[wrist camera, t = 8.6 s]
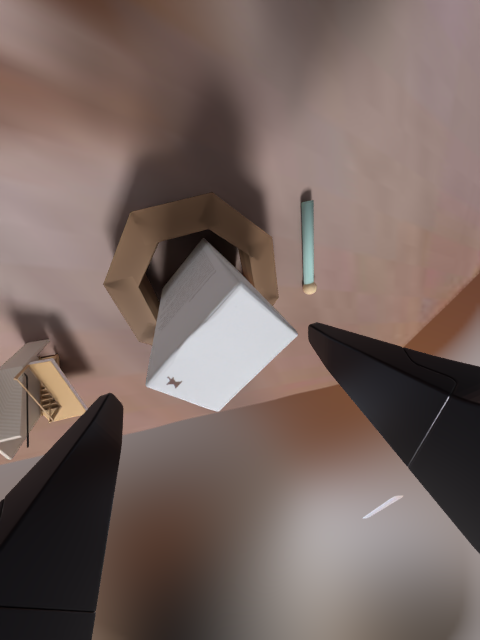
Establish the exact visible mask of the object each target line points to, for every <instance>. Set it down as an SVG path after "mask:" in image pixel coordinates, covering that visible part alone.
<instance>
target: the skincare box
mask: <svg viewBox="0 0 480 640" xmlns="http://www.w3.org/2000/svg"><path fill="white" fill-rule="evenodd" d="M297 335H298V333H297V331H296V330H295V329H294V328H293V327H292V326H291V325H290V324H289V323H288V322H287V321H286V320H285V319H284V318H283V316H282V315H281V314H280V313H279V312H278V311H277V310H276V309H275V308H274V307H273V306H272V305H271V304H270V303H269V302H268V301H267V300H266V299H265V298H264V297H263V296H262V295H261V294H260V293H259V292H258V291H257V290H256V289H255V288H254V287H253V286H252V284H251V283H250V282H249V281H248V280H247V279H246V278H245V277H244V276H243V275H242V274H241V273H240V272H239V271H238V270H237V269H236V268H235V267H234V266H233V265H232V264H231V263H230V262H229V261H228V260H227V259H226V258H225V257H224V256H223V255H222V254H221V253H220V252H218V251H217V250H216V249H215V248H214V247H213V246H212V245H211V244H210V243H209V242H208V241H207V240H205V239H202V240H201V241H200V242H199V243H198V245H197V246H196V247H195V248H194V250H193V251H192V252H191V253H190V255H189V256H188V257H187V258H186V260H185V261H184V262H183V263H182V265H181V266H180V267H179V268H178V270H177V271H176V272H175V273H174V275H173V276H172V277H171V278H170V280H169V281H168V282H167V283H166V285H165V286H164V287H163V289H162V294H161V300H160V305H159V311H158V317H157V323H156V328H155V333H154V339H153V345H152V350H151V355H150V360H149V366H148V372H147V378H146V386H147V387H148V388H151V389H154V390H157V391H160V392H163V393H166V394H168V395H171V396H174V397H177V398H180V399H182V400H185V401H188V402H190V403H193V404H196V405H199V406H201V407H204V408H207V409H210V410H214V411H220V410H221V409H222V408H223V407H224V406H225V405H226V404H227V403H228V402H229V401H230V400H231V399H232V398H233V397H234V396H235V395H236V394H237V393H238V392H239V391H240V390H241V389H242V388H243V387H244V386H245V385H246V384H247V383H248V382H249V381H251V380H252V379H253V378H254V377H255V376H256V375H257V374H258V373H259V372H260V371H261V370H262V369H263V368H264V367H265V366H266V365H267V364H268V363H269V362H270V361H271V360H272V359H273V358H274V357H275V356H276V355H278V354H279V353H280V352H281V351H282V350H283V349H284V348H285V347H286V346H287V345H288V344H289V343H290V342H291V341H292V340H293V339H294V338H296V337H297Z"/></svg>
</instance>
